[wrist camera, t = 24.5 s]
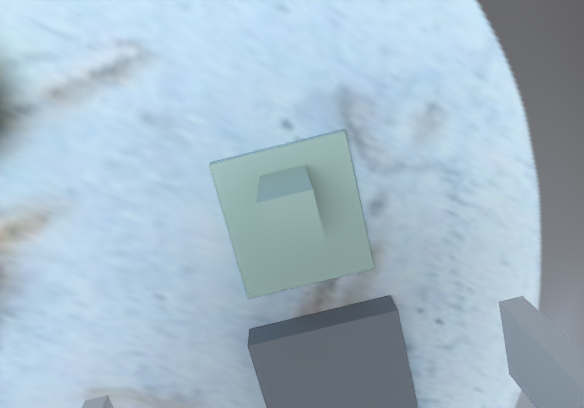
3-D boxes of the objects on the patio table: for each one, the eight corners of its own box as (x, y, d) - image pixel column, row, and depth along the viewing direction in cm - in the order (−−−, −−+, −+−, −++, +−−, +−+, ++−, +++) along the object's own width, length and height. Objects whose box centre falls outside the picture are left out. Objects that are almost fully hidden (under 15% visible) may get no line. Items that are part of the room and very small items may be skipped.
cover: (249, 291, 47) (242, 353, 36) (210, 161, 43) (191, 189, 33) (371, 262, 46) (398, 316, 36) (342, 129, 43) (363, 147, 33)
